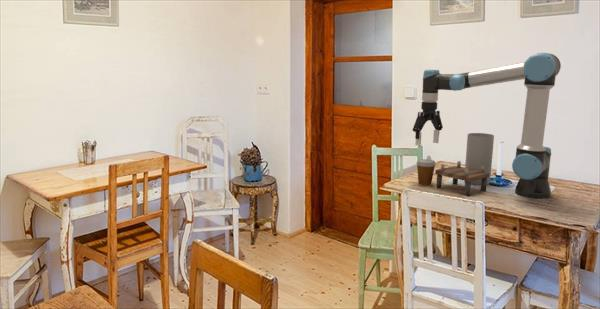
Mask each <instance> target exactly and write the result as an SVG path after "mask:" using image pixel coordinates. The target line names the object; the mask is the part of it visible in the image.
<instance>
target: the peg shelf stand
mask: <svg viewBox="0 0 600 309" xmlns="http://www.w3.org/2000/svg"><path fill="white" fill-rule="evenodd" d="M456 164H457V165H455V166H448V167H445V164H443V163H442V164H440V168H439V169H434V172H435V175H436V186H435V187H436V189H437V190H439V189H441V190H442V184H443V177H447V178H450V179H452V185H454V186H457V185H458V182H459V181H458V180H460V181H464V183H465V184H464V186H465V187H464V196H466V197H469V196H471V187H472V186H471V181H475V180H479V179H482V181H481V186H480V192H487V186H488V185H487V177H489V173H487V172H484V166H481V169H480V171H478V170H473V169H468V168H465V167H463V166H462V167H461V165H462V161H459V160H457V162H456ZM465 181H466V182H465Z"/></svg>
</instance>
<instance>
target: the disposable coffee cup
mask: <svg viewBox="0 0 600 309" xmlns="http://www.w3.org/2000/svg"><path fill="white" fill-rule="evenodd" d="M436 165H437V164H436V161H435V160H433V159H425V158H424V159H417V161H416V167H417V181H418V182H417V183H418V185H420V186H424V187H425V186H431V185H432V182H433V177H434V172H435V167H436Z"/></svg>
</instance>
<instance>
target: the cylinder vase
mask: <svg viewBox="0 0 600 309" xmlns="http://www.w3.org/2000/svg"><path fill="white" fill-rule="evenodd" d="M466 138H467V139H466V152H465V154H466V155H465V166H464V168H468V169H473V170H478V171H480V169H481V166H484V172H487V173H489V177H487V186H489V185H490V184H489V182H490V183H491V179H492V176H491V175H492V168H493V167H492V165H493V164H492V163H493V153H494V142H495V140H494V139H495V135H494V134H491V133H485V132H484V133H482V132H470V133H467V137H466ZM481 181H482V179H479V180H475V181H471V185H472V186H478V187H479V186H480V187H481ZM465 182H466V181H464V183H465Z"/></svg>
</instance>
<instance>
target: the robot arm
mask: <svg viewBox="0 0 600 309" xmlns="http://www.w3.org/2000/svg"><path fill="white" fill-rule="evenodd" d="M561 67H562V65H561V61H560V59H559V57H558V56H557V55H555V54H552V53H548V52H543V51H542V52H536V53H535V54H532V55H530V56H529V57H528V58H527V59H526V60H525V61H524V62H519V63H513V64H507V65H502V66H497V67H492V68H491V67H490V68H485V69H479V70H473V71H469V72H462V73H451V74H449V73H444V74H443V73H440V69H424V71H423V77H422V89H421V90H422V91H421V94H422V95H421V107H420V109H421V110H422V111H418V112H417V117H416V119H415V122H414V124H413V127H412V132H414V133H415V146H419V147H421V145H422V132H421V131H422V130H423V128H424V126H425V124H426V123H427V122H428V121H429V122H431V124H432V126H433V127H434V129H433V137H432V138H433V140H432V143H433V144H439V139H440V131H442V129H443V128H444V127H443V123H442V119H441V116H440V114H441V112H440V110H438V101H439V90H442V91H443V90H444V91H453V92H454V91H455V92H456V91H462V90H464V89H465V90H466V89H469V88H476V87H481V86H489V85H495V84H501V83H509V82H514V81H521V80H524V81H523V82H524V83H523V85H524V87H526V89H527V91H526V99H525V100H526V101H525V106H524V115H523V123H522V124H523V125H522V133H521V141H520V144H518V145H516V151H515V157H514V159H513V160H512V164H511V169H512V171H513V173H514V174H515V175H516V176H517V178H519V179H518V182H517V183H516V186H515V190H514V193H515V194H516V195H517V196H521V197H525V198H530V199H549V198H551V196H552V190H551V185H550V182H549V177H550V176H549V175H550V174H549V173H550V164H551V159H552V158H551V156H552V149H551V148H550V147H548V146H544V138H545V130H546V123H547V122H546V120H547V114H548V107H549V98H550V91H551V89H552V88H554V87H555V84H556V77H557V76H558V74H559V73H560V71H561Z"/></svg>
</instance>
